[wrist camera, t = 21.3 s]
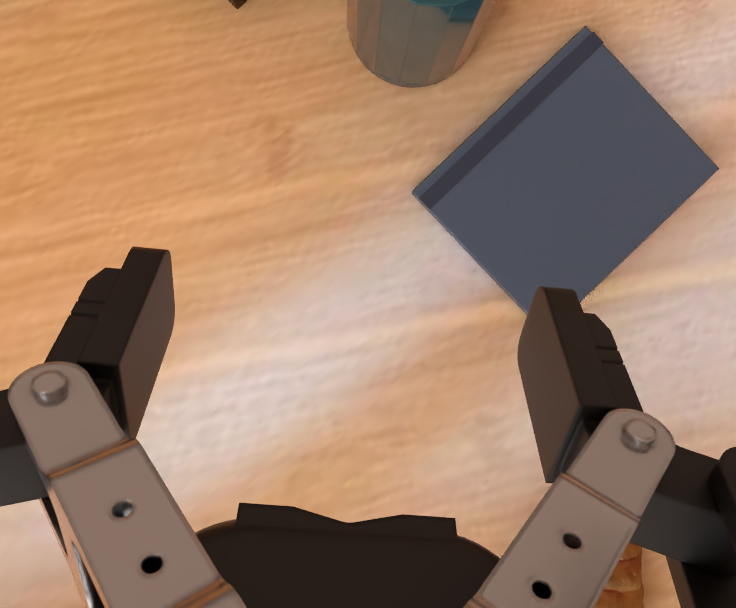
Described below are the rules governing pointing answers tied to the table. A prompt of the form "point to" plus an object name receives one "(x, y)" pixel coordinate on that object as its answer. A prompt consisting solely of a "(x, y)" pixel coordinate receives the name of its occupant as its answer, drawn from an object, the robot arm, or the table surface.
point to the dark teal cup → (415, 37)
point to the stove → (237, 3)
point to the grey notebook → (565, 175)
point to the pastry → (624, 582)
